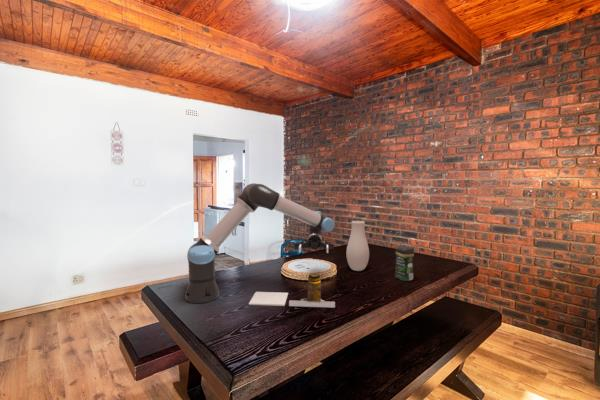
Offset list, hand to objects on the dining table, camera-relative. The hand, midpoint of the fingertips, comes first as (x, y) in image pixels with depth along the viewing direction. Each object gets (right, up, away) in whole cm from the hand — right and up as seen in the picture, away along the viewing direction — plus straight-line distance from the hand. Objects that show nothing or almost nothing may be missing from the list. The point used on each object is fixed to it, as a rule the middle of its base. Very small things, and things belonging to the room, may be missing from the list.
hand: (313, 250), depth 145 cm
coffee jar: (+52, -20, +22) cm, 59 cm away
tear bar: (-1, -22, -15) cm, 26 cm away
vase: (+29, -19, +38) cm, 52 cm away
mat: (-21, -22, -7) cm, 31 cm away
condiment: (-1, -22, -8) cm, 24 cm away
